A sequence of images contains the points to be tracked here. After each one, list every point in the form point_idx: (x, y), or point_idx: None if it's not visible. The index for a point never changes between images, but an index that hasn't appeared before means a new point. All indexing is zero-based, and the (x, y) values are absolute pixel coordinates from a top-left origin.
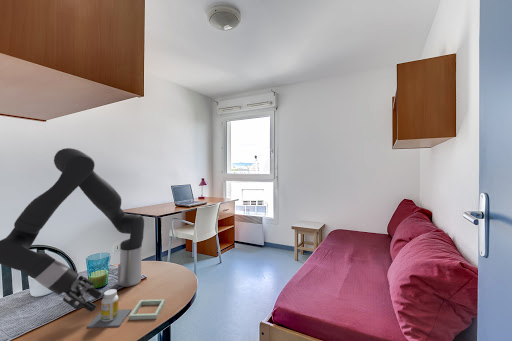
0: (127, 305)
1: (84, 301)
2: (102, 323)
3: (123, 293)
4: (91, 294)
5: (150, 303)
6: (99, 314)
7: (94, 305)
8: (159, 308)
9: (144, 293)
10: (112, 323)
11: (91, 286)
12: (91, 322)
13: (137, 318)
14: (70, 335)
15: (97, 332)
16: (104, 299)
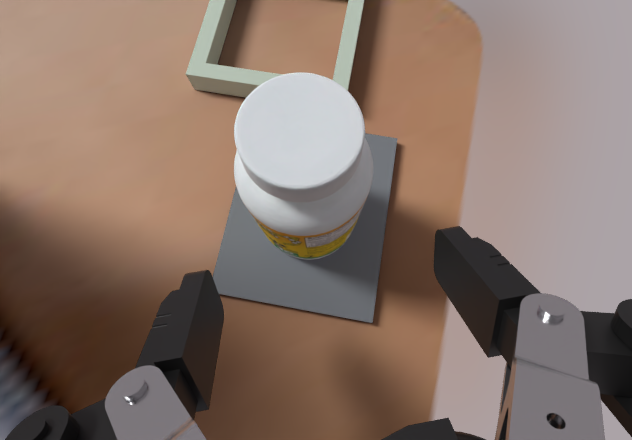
0: (191, 155)
1: (622, 313)
2: (362, 236)
3: (19, 220)
4: (211, 371)
5: (223, 30)
6: (257, 290)
7: (470, 237)
8: None
9: (80, 88)
10: (372, 180)
11: (148, 406)
12: (336, 309)
13: (352, 67)
14: (426, 394)
15: (424, 242)
16: (335, 195)
